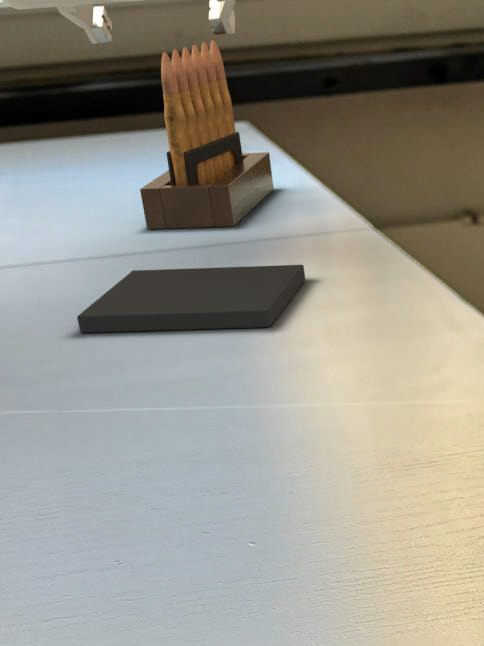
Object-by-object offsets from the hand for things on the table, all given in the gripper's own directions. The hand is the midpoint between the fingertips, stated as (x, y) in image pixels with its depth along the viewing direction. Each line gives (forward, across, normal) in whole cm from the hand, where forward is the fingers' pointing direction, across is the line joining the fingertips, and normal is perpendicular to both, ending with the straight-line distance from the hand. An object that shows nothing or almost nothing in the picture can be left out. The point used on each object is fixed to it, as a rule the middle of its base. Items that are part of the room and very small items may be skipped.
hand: (164, 31), depth 101 cm
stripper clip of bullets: (+15, +1, +4) cm, 16 cm away
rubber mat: (-8, -6, +27) cm, 29 cm away
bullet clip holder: (+15, +1, +4) cm, 16 cm away
